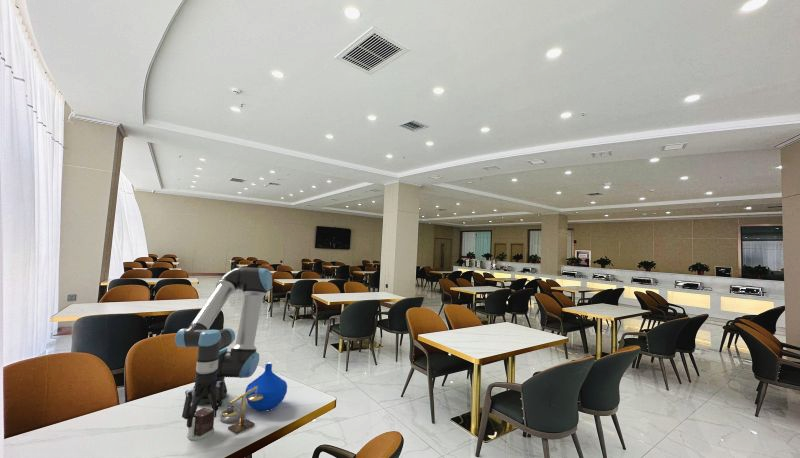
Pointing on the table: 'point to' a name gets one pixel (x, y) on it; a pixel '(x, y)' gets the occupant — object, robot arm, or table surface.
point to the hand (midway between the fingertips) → (200, 430)
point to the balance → (232, 411)
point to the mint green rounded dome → (201, 436)
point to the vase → (267, 390)
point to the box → (203, 421)
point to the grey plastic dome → (231, 418)
